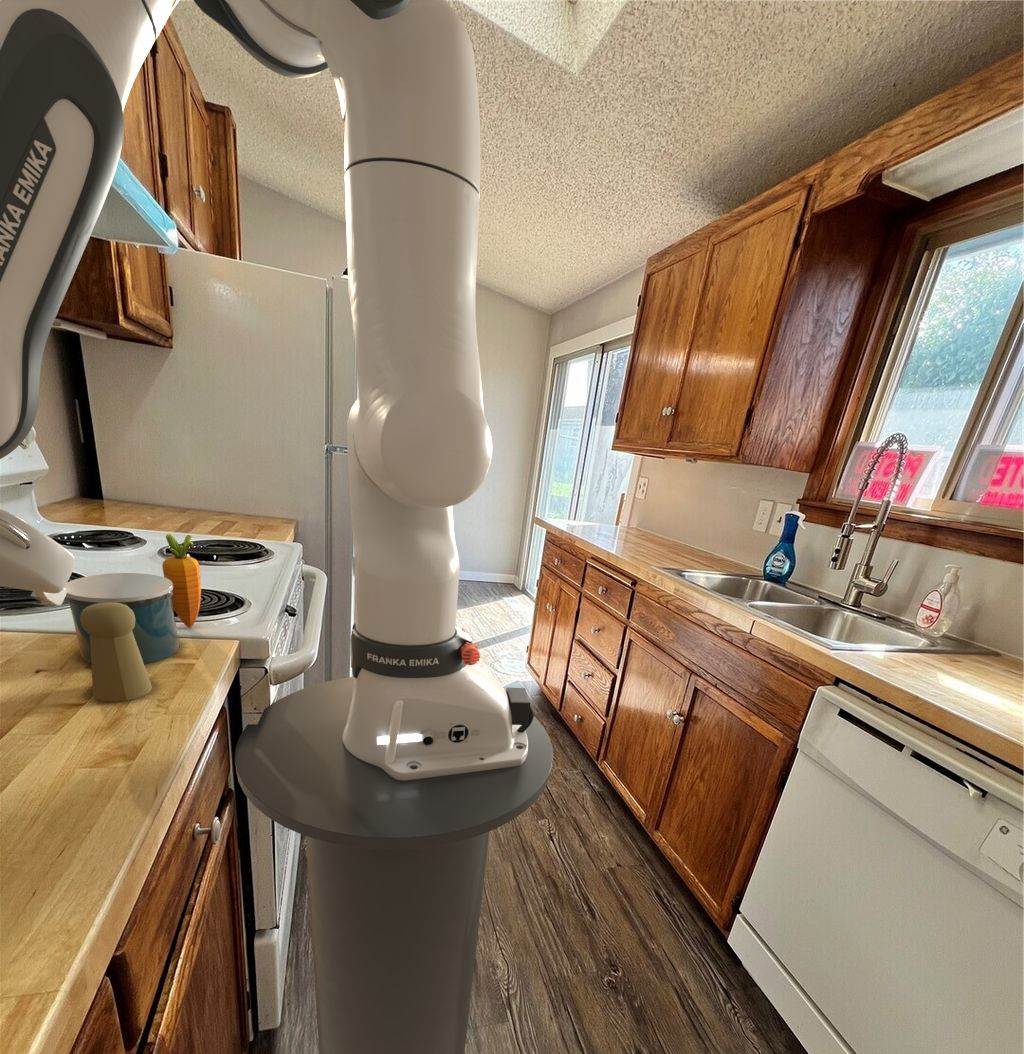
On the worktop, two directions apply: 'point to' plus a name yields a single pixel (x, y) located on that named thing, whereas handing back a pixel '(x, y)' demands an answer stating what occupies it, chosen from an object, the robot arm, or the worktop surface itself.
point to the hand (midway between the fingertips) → (8, 591)
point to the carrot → (183, 580)
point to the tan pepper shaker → (114, 653)
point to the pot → (141, 596)
